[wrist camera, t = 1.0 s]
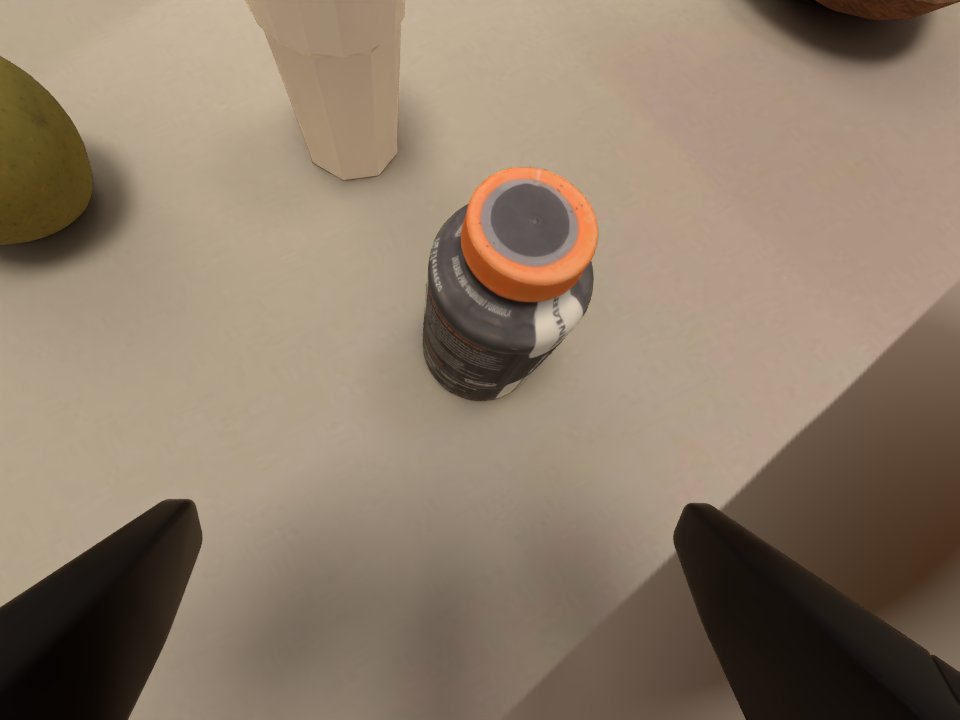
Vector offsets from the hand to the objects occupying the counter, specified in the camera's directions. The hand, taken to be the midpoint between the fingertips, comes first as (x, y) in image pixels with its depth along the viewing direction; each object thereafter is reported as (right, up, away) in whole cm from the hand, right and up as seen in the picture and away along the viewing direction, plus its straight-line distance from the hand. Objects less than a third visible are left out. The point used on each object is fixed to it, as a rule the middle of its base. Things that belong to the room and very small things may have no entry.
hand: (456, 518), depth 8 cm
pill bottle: (0, +4, +15) cm, 16 cm away
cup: (-7, +16, +18) cm, 25 cm away
